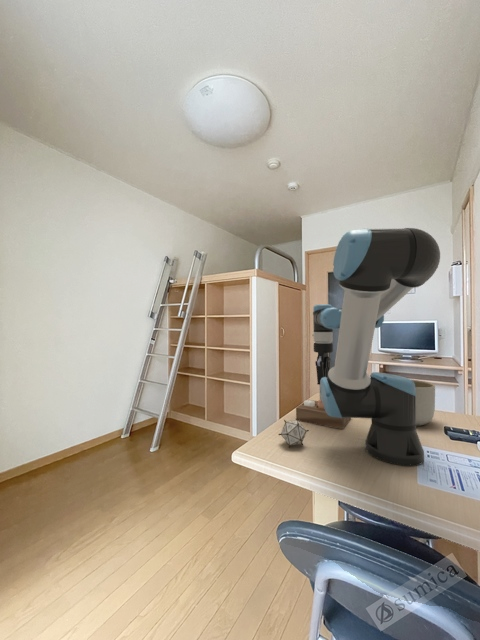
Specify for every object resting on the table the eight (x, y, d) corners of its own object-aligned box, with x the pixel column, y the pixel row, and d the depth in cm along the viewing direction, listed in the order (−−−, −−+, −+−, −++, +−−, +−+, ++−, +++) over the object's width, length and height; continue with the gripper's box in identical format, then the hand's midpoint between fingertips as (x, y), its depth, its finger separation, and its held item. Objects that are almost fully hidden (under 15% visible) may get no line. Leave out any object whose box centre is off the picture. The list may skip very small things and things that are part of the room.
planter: (392, 427, 101) (391, 386, 102) (380, 413, 118) (379, 377, 118) (444, 431, 97) (443, 388, 98) (424, 415, 114) (424, 379, 114)
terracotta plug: (327, 417, 107) (327, 403, 107) (316, 415, 110) (316, 401, 110) (330, 414, 111) (330, 400, 111) (320, 412, 113) (319, 399, 114)
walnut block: (342, 429, 100) (342, 415, 100) (296, 420, 109) (296, 407, 110) (350, 418, 111) (350, 406, 111) (308, 410, 121) (308, 399, 121)
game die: (294, 454, 89) (302, 424, 94) (308, 455, 81) (316, 422, 86) (270, 442, 88) (280, 412, 92) (283, 442, 80) (292, 410, 85)
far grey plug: (312, 417, 111) (312, 403, 111) (302, 415, 113) (302, 401, 113) (316, 414, 114) (316, 401, 114) (306, 412, 117) (306, 399, 117)
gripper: (318, 341, 118) (319, 395, 118) (308, 343, 108) (309, 403, 107) (336, 341, 114) (337, 398, 114) (327, 343, 103) (328, 406, 103)
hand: (323, 400), depth 111 cm, fingers closed
